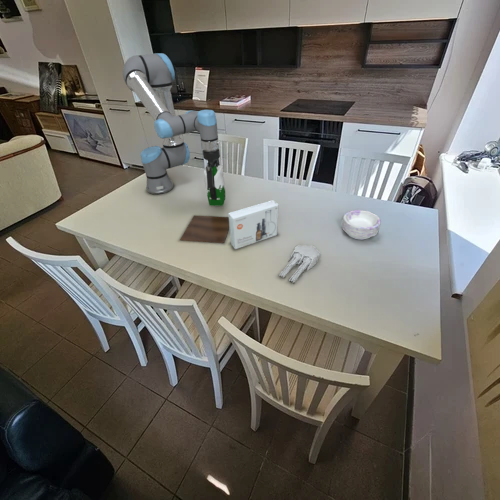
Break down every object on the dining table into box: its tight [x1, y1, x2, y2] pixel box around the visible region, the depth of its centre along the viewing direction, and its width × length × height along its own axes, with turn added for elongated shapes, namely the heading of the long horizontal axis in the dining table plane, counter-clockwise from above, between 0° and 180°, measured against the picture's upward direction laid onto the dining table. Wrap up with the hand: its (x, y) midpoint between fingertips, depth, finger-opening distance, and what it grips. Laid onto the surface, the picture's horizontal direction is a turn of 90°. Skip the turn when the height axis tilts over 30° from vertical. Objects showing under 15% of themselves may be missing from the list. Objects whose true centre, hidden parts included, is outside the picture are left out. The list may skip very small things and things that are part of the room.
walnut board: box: [179, 215, 230, 244], centre depth 130 cm, size 20×20×1 cm
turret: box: [278, 244, 322, 284], centre depth 107 cm, size 10×20×5 cm, turn 141°
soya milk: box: [203, 164, 226, 207], centre depth 134 cm, size 9×9×20 cm
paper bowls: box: [341, 209, 382, 240], centre depth 120 cm, size 15×15×8 cm
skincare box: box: [227, 199, 280, 250], centre depth 118 cm, size 21×6×16 cm, turn 117°
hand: (216, 194), depth 138 cm, fingers closed on soya milk, 9 cm apart
